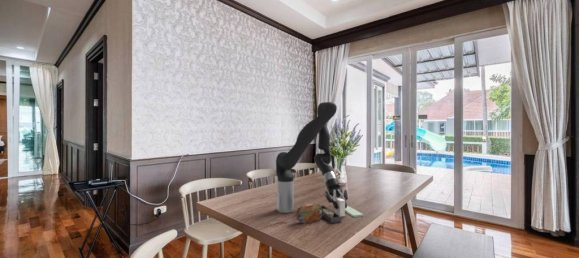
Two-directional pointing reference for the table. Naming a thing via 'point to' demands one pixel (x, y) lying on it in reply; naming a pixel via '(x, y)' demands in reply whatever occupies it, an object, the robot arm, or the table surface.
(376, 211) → the table surface
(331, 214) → the offcut stack
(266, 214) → the table surface
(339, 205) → the white rectangular block
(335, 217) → the frame
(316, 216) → the tin
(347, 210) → the board
